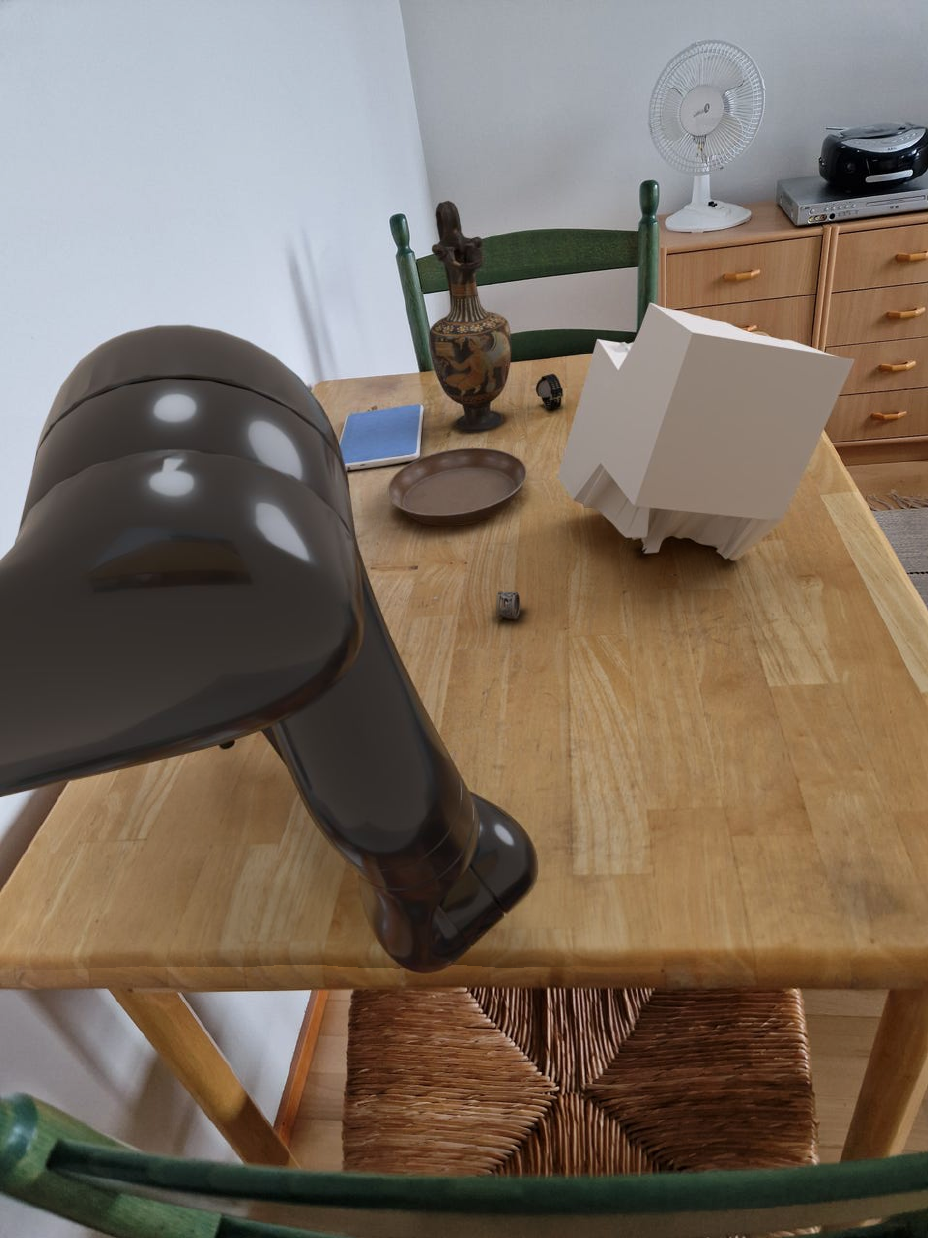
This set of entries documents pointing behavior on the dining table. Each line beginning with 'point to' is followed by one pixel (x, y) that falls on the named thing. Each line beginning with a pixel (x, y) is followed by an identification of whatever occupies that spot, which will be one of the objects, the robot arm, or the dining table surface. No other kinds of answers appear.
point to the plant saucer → (457, 485)
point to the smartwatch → (550, 391)
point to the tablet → (382, 437)
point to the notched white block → (698, 430)
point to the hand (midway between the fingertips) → (251, 641)
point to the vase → (468, 330)
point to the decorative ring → (509, 608)
